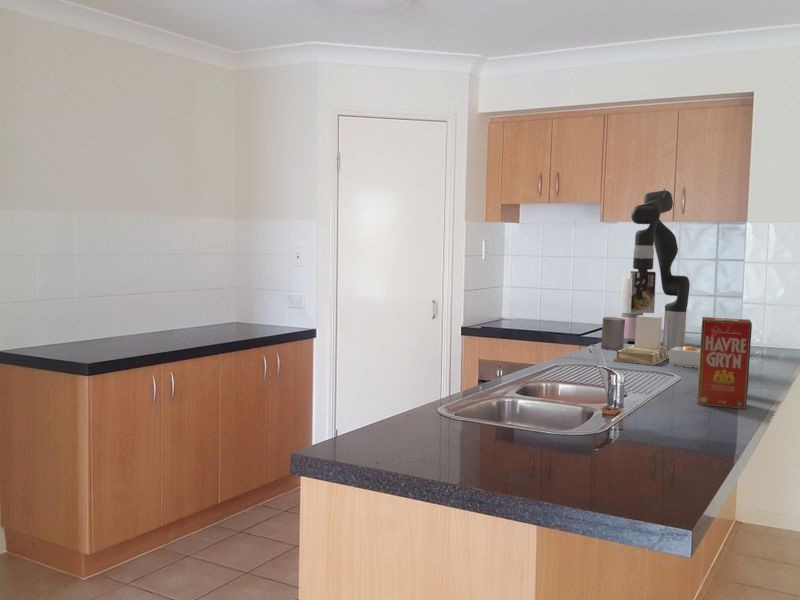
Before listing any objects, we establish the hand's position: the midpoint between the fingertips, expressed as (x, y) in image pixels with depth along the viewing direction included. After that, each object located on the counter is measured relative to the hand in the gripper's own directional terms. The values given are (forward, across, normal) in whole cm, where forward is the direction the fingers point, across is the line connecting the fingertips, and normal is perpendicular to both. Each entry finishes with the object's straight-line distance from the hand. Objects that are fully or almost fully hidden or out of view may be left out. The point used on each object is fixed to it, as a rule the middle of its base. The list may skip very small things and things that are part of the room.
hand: (641, 298), depth 298 cm
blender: (+26, -62, -19) cm, 70 cm away
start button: (+23, -5, +18) cm, 30 cm away
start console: (+25, -5, +18) cm, 31 cm away
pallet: (+25, -7, 0) cm, 26 cm away
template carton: (+25, -15, 0) cm, 29 cm away
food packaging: (+25, +69, +41) cm, 84 cm away
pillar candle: (+26, -31, -19) cm, 45 cm away
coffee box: (+6, 0, 0) cm, 6 cm away
